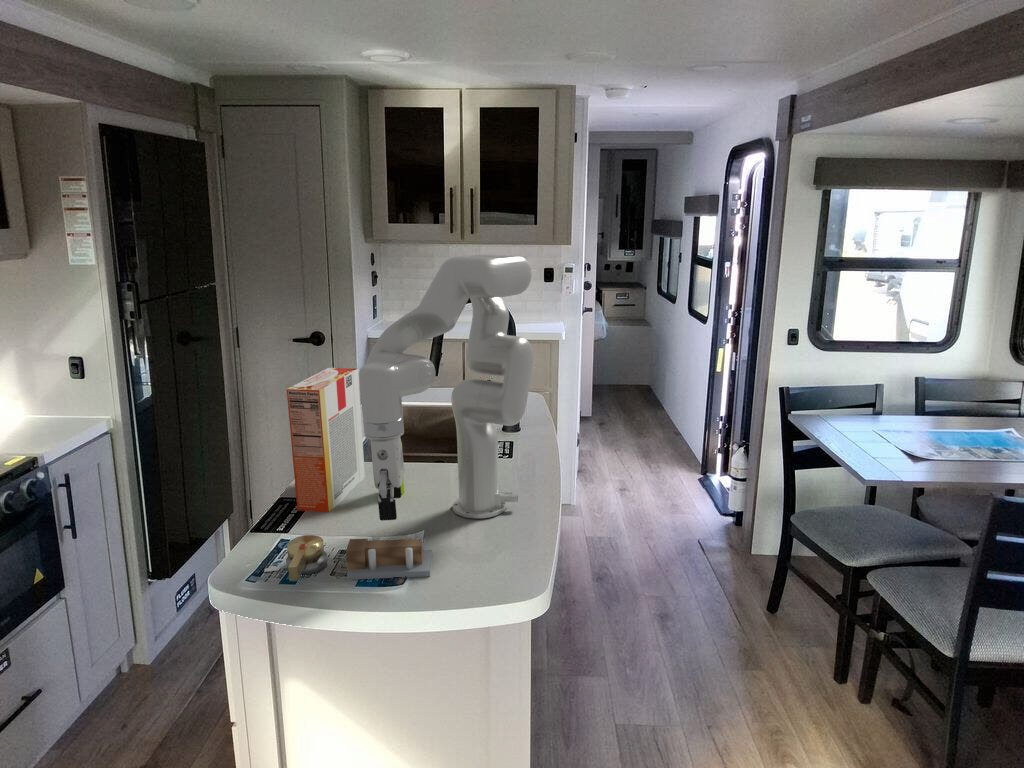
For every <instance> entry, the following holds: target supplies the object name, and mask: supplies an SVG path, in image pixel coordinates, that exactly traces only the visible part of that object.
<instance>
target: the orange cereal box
mask: <svg viewBox="0 0 1024 768" xmlns="http://www.w3.org/2000/svg"><path fill="white" fill-rule="evenodd" d="M286 396H287V407H288V421H289V429H290V430H289V433H290V442H291V452H292V453H291V454H292V455H291V456H292V465H293V476H294V487H295V488H294V489H295V497H296V508H297V509H296V510H297V511H300V512H301V511H305V512H318V513H320V512H321V513H330V512H331V511H332V510H333V509H334V508H336V506H337V505H338V504H339V503H340V502H341V501H343V499H344V498H346V497H347V496H348V495H349V494H350V493H351V492H352V491H353V490H354V489H355V488H356V487H357V486H358V485H359V484H360V483H362V481H364V479H365V478H366V475H365V474H366V473H365V457H364V445H363V444H364V442H363V440H364V439H363V426H362V407H361V392H360V382H359V368H354V367H353V368H348V367H344V368H343V367H328V368H325V369H322V371H320V372H317V373H316V374H314V375H312V376H310V377H307V378H305V379H304V380H302V381H300V382H297V383H296V384H294V385H292V386H290V387H288V388H286ZM363 478H364V479H363ZM359 482H360V483H359ZM358 483H359V484H358ZM357 484H358V485H357ZM356 485H357V486H356ZM355 486H356V487H355ZM354 487H355V488H354ZM353 488H354V489H353ZM352 489H353V490H352ZM351 490H352V491H351ZM350 491H351V492H350ZM349 492H350V493H349Z"/></svg>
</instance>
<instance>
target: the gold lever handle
mask: <svg viewBox="0 0 1024 768" xmlns="http://www.w3.org/2000/svg"><path fill="white" fill-rule="evenodd" d="M324 545H325V544H324V539H323V537H321V536H320V535H314V534H308V535H307V534H306V535H301V536H297V537H294V538H292V539H290V540H289V541H287V544H286V550H287V557H288V558H289V559H290V560H291V563H290V565H289V567H288V571H289V573H288V579H289V582H297V581H298V582H299V580H300V578H301V577H302V576H301V574H302V571H303V569H304V567H305V565H306V563H307V562H308V561H312V560H315V559H318V558H319V557H321V556H322V555H323V554H324V551H325V547H324Z"/></svg>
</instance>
